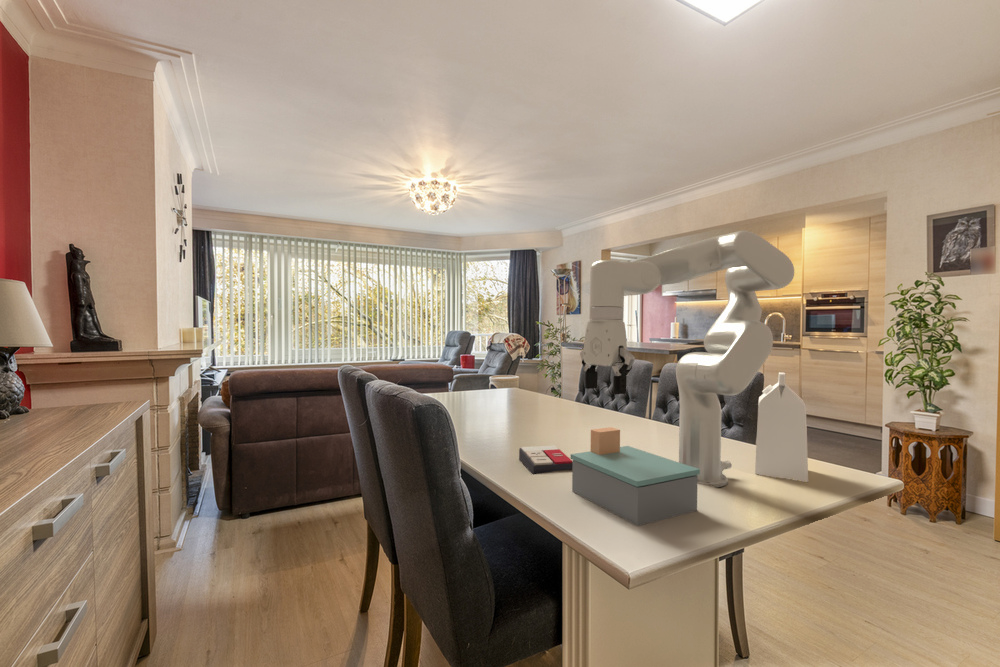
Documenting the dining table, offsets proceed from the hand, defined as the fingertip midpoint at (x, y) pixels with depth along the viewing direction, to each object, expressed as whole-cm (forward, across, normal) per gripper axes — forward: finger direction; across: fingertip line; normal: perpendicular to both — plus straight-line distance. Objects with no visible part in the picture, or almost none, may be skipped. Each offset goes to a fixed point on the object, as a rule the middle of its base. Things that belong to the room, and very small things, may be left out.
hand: (604, 391), depth 106 cm
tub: (+23, +9, 0) cm, 25 cm away
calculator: (+24, -23, -1) cm, 33 cm away
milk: (+23, +8, +52) cm, 58 cm away
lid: (+15, +9, 0) cm, 17 cm away
